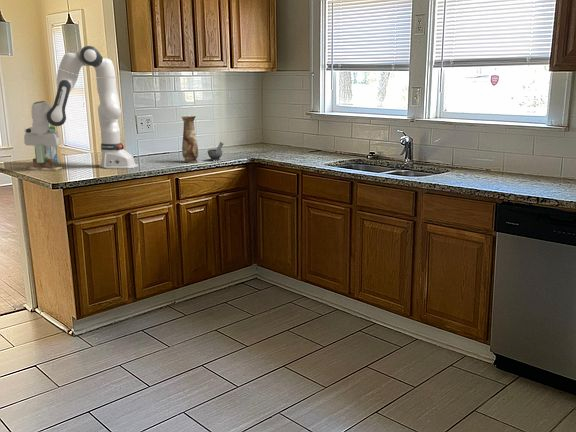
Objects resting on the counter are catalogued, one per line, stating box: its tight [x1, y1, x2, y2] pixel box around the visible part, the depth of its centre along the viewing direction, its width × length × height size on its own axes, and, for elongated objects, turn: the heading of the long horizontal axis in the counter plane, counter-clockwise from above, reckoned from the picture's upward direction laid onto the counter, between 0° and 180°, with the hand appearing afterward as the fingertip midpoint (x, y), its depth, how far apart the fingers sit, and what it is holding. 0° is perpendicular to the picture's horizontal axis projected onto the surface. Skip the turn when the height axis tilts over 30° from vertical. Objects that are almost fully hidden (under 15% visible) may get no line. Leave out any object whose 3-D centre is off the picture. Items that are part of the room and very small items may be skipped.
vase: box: [180, 114, 199, 163], centre depth 368 cm, size 10×11×30 cm
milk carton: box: [34, 123, 59, 164], centre depth 352 cm, size 9×9×25 cm
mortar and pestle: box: [207, 141, 224, 161], centre depth 379 cm, size 11×9×12 cm
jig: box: [26, 157, 63, 171], centre depth 334 cm, size 18×7×6 cm, turn 82°
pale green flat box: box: [34, 145, 50, 163], centre depth 332 cm, size 9×3×10 cm, turn 172°
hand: (43, 153), depth 332 cm, fingers closed on pale green flat box, 3 cm apart
